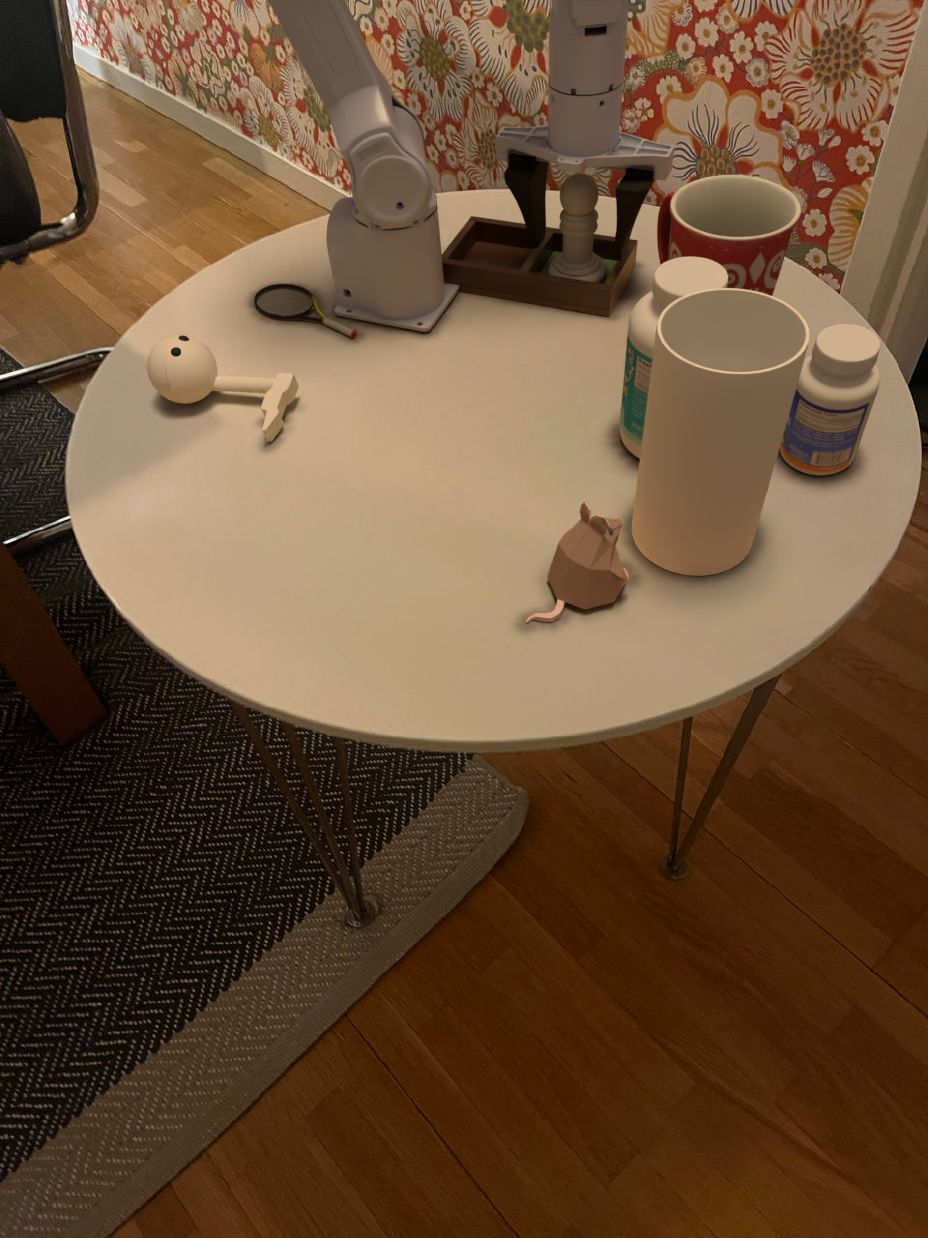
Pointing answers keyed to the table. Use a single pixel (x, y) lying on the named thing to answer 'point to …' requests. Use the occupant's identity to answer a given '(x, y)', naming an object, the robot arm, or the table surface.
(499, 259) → the tray
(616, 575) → the mouse figurine
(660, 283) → the pill bottle
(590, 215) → the chess piece
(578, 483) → the table surface
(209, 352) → the figurine
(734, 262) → the mug
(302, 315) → the tennis racket
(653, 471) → the cup
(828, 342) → the pill bottle
